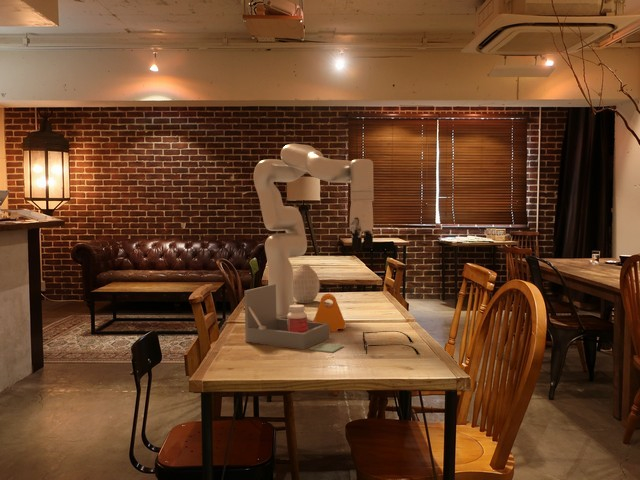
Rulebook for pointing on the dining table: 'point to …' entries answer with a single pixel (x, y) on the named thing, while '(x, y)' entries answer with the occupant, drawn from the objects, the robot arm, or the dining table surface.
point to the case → (276, 322)
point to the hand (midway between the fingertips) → (362, 249)
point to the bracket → (330, 314)
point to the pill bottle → (297, 319)
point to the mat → (327, 347)
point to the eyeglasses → (389, 344)
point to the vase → (305, 284)
